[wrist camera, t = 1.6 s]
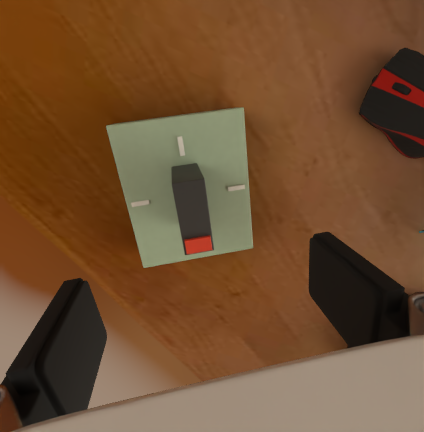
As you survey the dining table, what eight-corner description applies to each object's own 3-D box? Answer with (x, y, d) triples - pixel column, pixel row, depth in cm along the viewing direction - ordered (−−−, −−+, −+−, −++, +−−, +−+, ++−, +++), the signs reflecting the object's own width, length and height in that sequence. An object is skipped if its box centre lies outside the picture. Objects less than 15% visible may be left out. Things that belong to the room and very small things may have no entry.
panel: (113, 123, 21) (105, 125, 18) (234, 107, 22) (244, 107, 19) (146, 251, 26) (143, 269, 23) (244, 233, 27) (253, 249, 24)
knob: (171, 166, 20) (171, 184, 15) (196, 162, 20) (205, 179, 15) (182, 225, 22) (185, 257, 17) (205, 221, 22) (215, 252, 17)
